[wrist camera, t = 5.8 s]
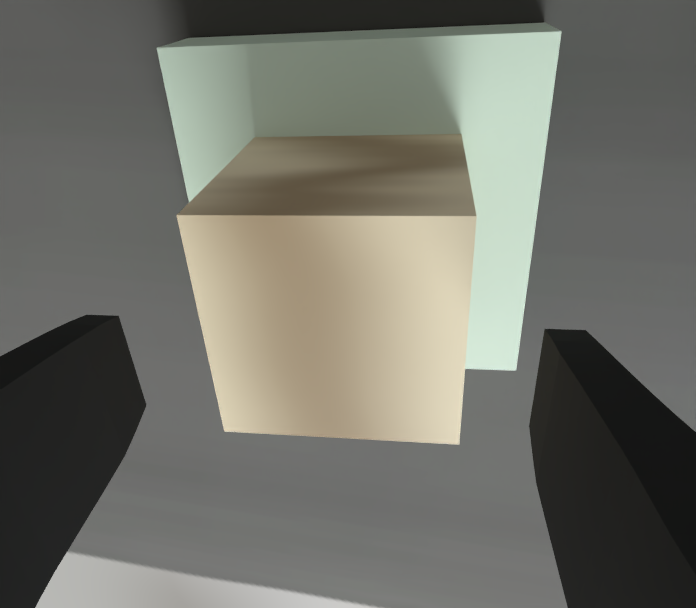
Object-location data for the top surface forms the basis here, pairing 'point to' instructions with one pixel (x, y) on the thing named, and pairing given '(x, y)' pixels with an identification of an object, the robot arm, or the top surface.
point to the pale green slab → (391, 125)
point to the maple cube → (337, 285)
